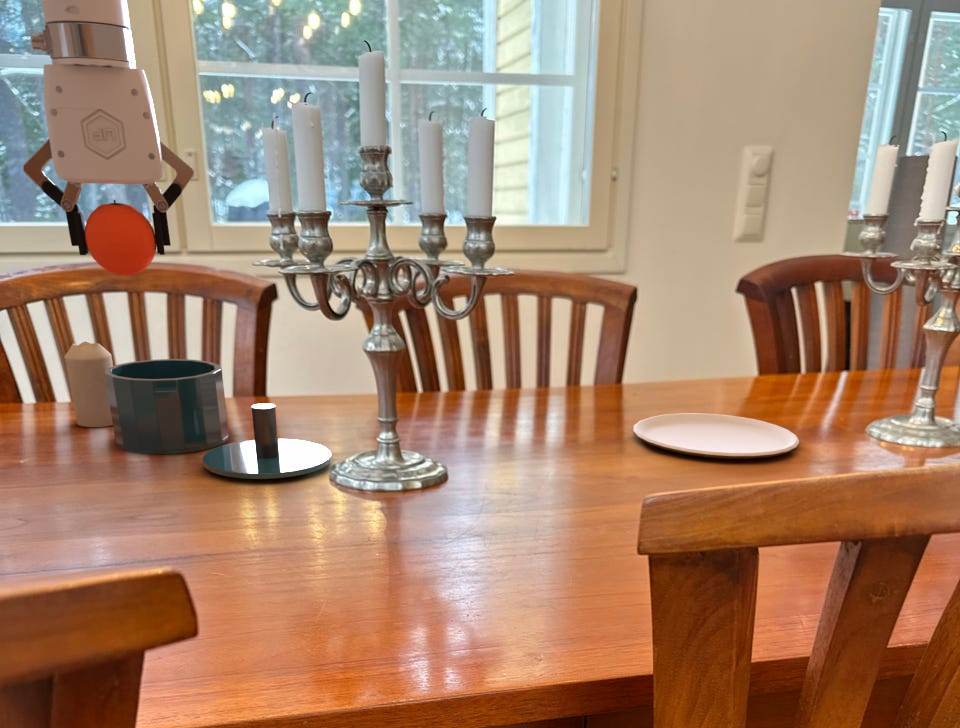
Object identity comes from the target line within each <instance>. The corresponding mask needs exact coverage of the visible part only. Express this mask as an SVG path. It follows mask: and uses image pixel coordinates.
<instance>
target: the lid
mask: <svg viewBox="0 0 960 728" xmlns="http://www.w3.org/2000/svg"><path fill="white" fill-rule="evenodd" d="M276 408H277V407H276V405H275V404H274V403H256V404H253V405H251V416H252V429H253V438H254V439H250V440H249V439H248V440H242V441H236V442H231V443H230V442H229V443H227V444H222V445H219V446H216V447H213V448H211V450H209V451H207V452H205V453H204V455H203V456H202V462H203V463H202V465H203V467H204V468H205V469H206V470H208V471H209V472H212V473H214V474H217V475H220V476H224V477H230V478H235V479H250V480H272V479H273V480H274V479H283V478H292V477H297V476H303V475H307V474H311V473H315V472H316V471H320V470H321V469H323V468H325V467H327V466H328V465H329V464H330V463H332V451H331V450H330V449H329V448H327V447H326V446H324V445H322V444H319V443H315V442H312V441H307V440H301V439H292V438H291V439H289V438H279V433H278V432H279V431H278V430H279V429H278V421H277V409H276Z"/></svg>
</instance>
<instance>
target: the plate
mask: <svg viewBox="0 0 960 728" xmlns="http://www.w3.org/2000/svg"><path fill="white" fill-rule="evenodd" d="M632 433H633V434H634V435H635V436H636V438H638V439H639V440H640V441H643V442H644V443H646V444H648V445H650V446H653V447H657V448H660V449H663V450H666V451H670V452H674V453H678V454H683V455H688V456H693V457H700V458H708V459H721V460H722V459H723V460H745V459H746V460H748V459H760V458H771V457H776V456H780V455H785V454H788V453H790V452H792V451H794V450H796V449H797V448H798V447H799V444H800V440H799V438H798V436H797V435H796V434H795V433H793V432H792V431H790V430H789V429H787V428H786V427H785V428H784V427H783V426H779V425H777V424H774V423H771V422H767V421H764V420H759V419H754V418H749V417H743V416H738V415H737V416H736V415H729V414H720V413H719V414H717V413H704V412H703V413H702V412H699V413H697V412H696V413H695V412H694V413H693V412H692V413H691V412H681V413H667V414H660V415H654V416H650V417H647V418H644V419H641V420H639V421H637V423H635V424H634V425H633V428H632Z"/></svg>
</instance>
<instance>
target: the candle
mask: <svg viewBox="0 0 960 728" xmlns="http://www.w3.org/2000/svg"><path fill="white" fill-rule="evenodd" d="M63 357H64V362H65V367H66V372H67V378H68V384H69V389H70V394H71V395H70V396H71V400H72V404H73V410H74V415H75V420H76V424H77V425H78V426H79V427H86V428H102V427H103V428H104V427H111V426H113V423H112V417H111V411H110V405H109V399H108V393H107V387H106V381H105V375H104V373H105V369H107V368H110V367H112V366H114V362H113V357H112V353H111V352H109V351H108V350H107V349H106V348H105V347H103V346H102V345H101V344H100V343H99V342H94V343H91V342H88V341H83V342H81V343H78V344H76V343H74V342H73V343H72V344H71V346H70V348H69V349H68V351H67V352H66V353H65V355H64V356H63Z"/></svg>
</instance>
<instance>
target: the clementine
mask: <svg viewBox="0 0 960 728" xmlns="http://www.w3.org/2000/svg"><path fill="white" fill-rule="evenodd" d="M85 241H86V245H87V248H88V250H89V254H90V256H91V257H92V259H93V260H94V261H95V262H96V263H97V264H98V266H100V267H101V268H103V269H104V270H106V271H107V272H110V273H112V274H115V275H118V276H133V275H137V274H139V273H141V272H144V271H145V270H146V269H147V268H148V267H149V266H150V265H151V263H152V262H153V260H154V258H155V256H156V252H157V246H156V239H155V231H154V227H153V225H152V224H151V223H150V220H149V219H148V218H147V217H146V216H145V215H144V214H143V213H142V212H141V211H140V210H139V209H137V208H135V206H133V205H131V204H128V203H125V202H124V203H123V202H122V203H121V202H117V201H116V199H113V202H110V203H103V204H100V205H98V206H97V207H96V208H95V209H94V210H93V211H92V212H91V213H90V214H89V216H88V218H87V219H86V223H85Z"/></svg>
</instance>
